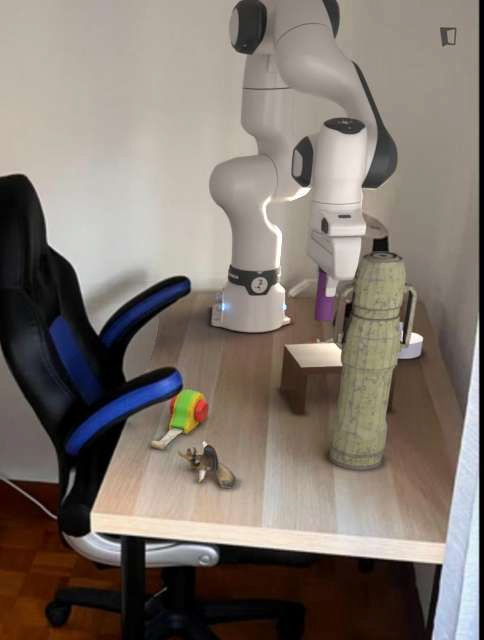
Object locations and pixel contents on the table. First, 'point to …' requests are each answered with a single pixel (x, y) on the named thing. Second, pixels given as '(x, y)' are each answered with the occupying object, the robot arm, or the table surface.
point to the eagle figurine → (210, 465)
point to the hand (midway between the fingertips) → (325, 292)
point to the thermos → (369, 357)
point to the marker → (323, 300)
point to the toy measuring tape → (184, 415)
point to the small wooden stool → (312, 370)
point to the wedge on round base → (411, 346)
